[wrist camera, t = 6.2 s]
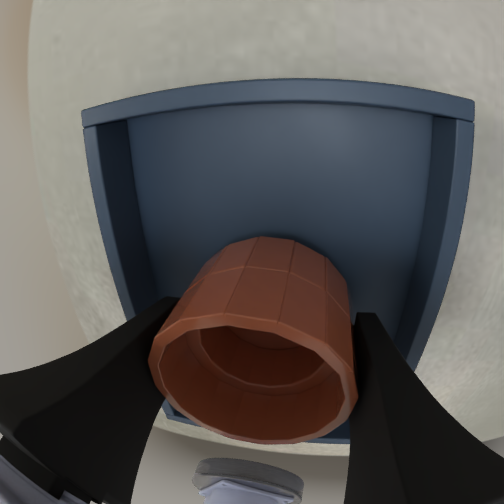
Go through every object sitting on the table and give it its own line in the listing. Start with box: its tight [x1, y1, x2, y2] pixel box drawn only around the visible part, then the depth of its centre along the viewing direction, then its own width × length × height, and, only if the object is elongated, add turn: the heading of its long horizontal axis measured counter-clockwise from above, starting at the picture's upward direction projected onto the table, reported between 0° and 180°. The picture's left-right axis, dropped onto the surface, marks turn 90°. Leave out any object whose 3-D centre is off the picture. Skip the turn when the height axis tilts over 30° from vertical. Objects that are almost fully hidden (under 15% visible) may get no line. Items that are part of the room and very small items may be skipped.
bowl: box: [148, 236, 359, 444], centre depth 9 cm, size 6×6×4 cm
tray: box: [81, 78, 475, 444], centre depth 11 cm, size 15×11×2 cm
